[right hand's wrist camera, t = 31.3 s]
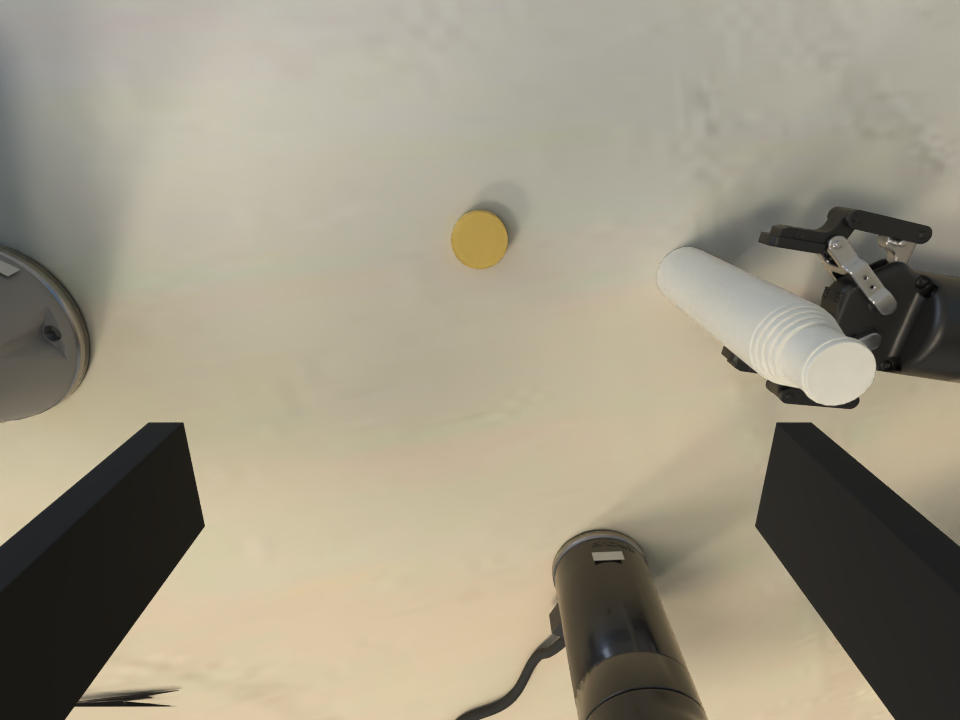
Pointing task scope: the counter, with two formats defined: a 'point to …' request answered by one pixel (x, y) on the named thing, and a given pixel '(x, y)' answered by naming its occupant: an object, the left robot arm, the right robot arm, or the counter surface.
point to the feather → (119, 701)
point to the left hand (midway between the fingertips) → (744, 297)
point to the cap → (479, 239)
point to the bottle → (768, 327)
